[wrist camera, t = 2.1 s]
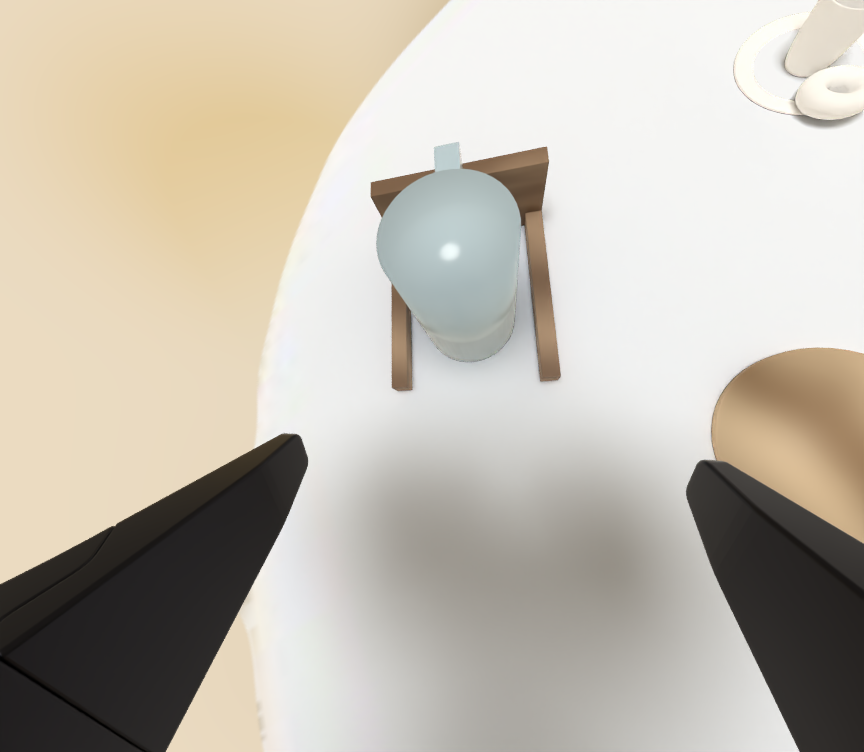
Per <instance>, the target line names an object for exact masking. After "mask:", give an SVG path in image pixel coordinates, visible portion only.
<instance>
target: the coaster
mask: <svg viewBox="0 0 864 752" xmlns="http://www.w3.org/2000/svg"><path fill="white" fill-rule="evenodd" d="M712 443H713V448H714V453H715V456H716V459H717V461H725V462H727V463H729V464H731V465H733V466H734V467H736V468H738V469H739V470H741V471H743V472H744V473H746V474H748V475H749V476H751V477H753V478H754V479H756V480H758V481H759V482H761V483H763V484H765V485H766V486H768V487H770V488H771V489H773V490H775V491H776V492H778V493H780V494H781V495H783V496H785V497H786V498H788V499H790V500H791V501H793V502H795V503H797V504H798V505H800V506H802V507H803V508H805V509H807V510H808V511H810V512H812V513H813V514H815V515H817V516H818V517H820V518H822V519H823V520H825V521H827V522H828V523H830V524H832V525H834V526H835V527H837V528H839V529H840V530H842V531H844V532H845V533H847V534H849V535H850V536H852V537H854V538H855V539H857V540H859V541H860V542H862V543H864V354H862V353H858V352H854V351H849V350H842V349H835V348H805V349H797V350H792V351H787V352H783V353H780V354H777V355H774V356H771V357H768V358H765V359H763V360H761V361H758V362H756V363H754V364H752V365H751V366H749V367H748V368H746V369H744V370H743V371H742V372H741V373H739V374H738V375H737V376H736V377H735V378H734V379H733V380H732V381H731V382H730V383H729V384H728V385H727V387H726V388H725V390H724V391H723V393H722V394H721V396H720V398H719V400H718V402H717V405H716V407H715V411H714V415H713V420H712Z"/></svg>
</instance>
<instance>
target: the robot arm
mask: <svg viewBox="0 0 864 752" xmlns="http://www.w3.org/2000/svg"><path fill="white" fill-rule="evenodd" d="M307 466H308V457H307V454H306V451H305V448H304V445H303V442H302V439H301V437H300V436H299V435H297V434H287V433H285V434H281V435H279V436H277V437H275V438H273V439H272V440H270V441H268V442H266V443H264V444H262V445H260V446H259V447H257V448H255V449H253V450H251V451H249V452H248V453H246V454H244V455H242V456H240V457H238V458H237V459H235V460H233V461H231V462H229V463H228V464H226V465H224V466H222V467H220V468H218V469H216V470H215V471H213V472H211V473H209V474H207V475H205V476H204V477H202V478H200V479H198V480H196V481H194V482H193V483H191V484H189V485H187V486H185V487H183V488H181V489H180V490H178V491H176V492H174V493H172V494H170V495H169V496H167V497H165V498H163V499H161V500H159V501H158V502H156V503H154V504H152V505H150V506H148V507H147V508H145V509H143V510H141V511H139V512H137V513H135V514H134V515H132V516H130V517H128V518H126V519H124V520H123V521H121V522H119V523H117V524H116V526H112V527H110V528H108V529H106V530H104V531H102V532H100V533H99V534H97V535H95V536H93V537H92V538H89V539H88V540H86V541H84V542H82V543H80V544H78V545H76V546H74V547H72V548H71V549H69V550H67V551H65V552H63V553H61V554H59V555H58V556H56V557H54V558H52V559H50V560H48V561H46V562H44V563H42V564H40V565H38V566H36V567H34V568H32V569H30V570H28V571H26V572H24V573H22V574H20V575H18V576H16V577H14V578H12V579H10V580H8V581H6V582H4V583H2V584H0V752H166V750H167V748H168V746H169V744H170V742H171V740H172V739H173V737H174V735H175V733H176V731H177V729H178V727H179V725H180V723H181V721H182V719H183V717H184V716H185V714H186V712H187V710H188V707H189V706H190V704H191V702H192V700H193V698H194V696H195V694H196V692H197V691H198V688H199V687H200V685H201V683H202V681H203V679H204V677H205V675H206V673H207V671H208V669H209V667H210V665H211V664H212V662H213V660H214V658H215V656H216V654H217V652H218V650H219V648H220V646H221V645H222V643H223V641H224V639H225V637H226V635H227V633H228V631H229V629H230V627H231V625H232V624H233V621H234V620H235V618H236V616H237V614H238V612H239V610H240V608H241V606H242V604H243V602H244V600H245V599H246V597H247V595H248V593H249V591H250V589H251V587H252V585H253V583H254V581H255V579H256V577H257V576H258V574H259V572H260V570H261V568H262V566H263V564H264V562H265V560H266V558H267V556H268V554H269V553H270V551H271V549H272V547H273V545H274V543H275V541H276V539H277V537H278V535H279V533H280V531H281V529H282V527H283V525H284V523H285V521H286V519H287V516H288V514H289V512H290V509H291V507H292V504H293V502H294V499H295V497H296V494H297V492H298V489H299V487H300V484H301V482H302V479H303V477H304V474H305V472H306V470H307ZM686 496H687V500H688V503H689V506H690V509H691V511H692V514H693V517H694V520H695V522H696V525H697V528H698V531H699V534H700V536H701V539H702V542H703V545H704V548H705V550H706V553H707V556H708V559H709V561H710V564H711V566H712V569H713V571H714V574H715V576H716V578H717V581H718V583H719V585H720V587H721V589H722V591H723V593H724V595H725V598H726V600H727V602H728V604H729V606H730V608H731V610H732V612H733V614H734V616H735V618H736V620H737V622H738V625H739V627H740V629H741V631H742V633H743V635H744V637H745V639H746V641H747V643H748V645H749V647H750V650H751V652H752V654H753V656H754V658H755V660H756V662H757V664H758V666H759V668H760V670H761V672H762V674H763V677H764V679H765V681H766V683H767V685H768V687H769V689H770V691H771V693H772V695H773V697H774V699H775V702H776V704H777V706H778V708H779V710H780V712H781V714H782V716H783V718H784V720H785V722H786V724H787V727H788V729H789V731H790V733H791V735H792V737H793V739H794V741H795V743H796V745H797V747H798V749H799V751H800V752H864V543H862V542H860V541H859V540H857V539H855V538H854V537H852V536H850V535H849V534H847V533H845V532H844V531H842V530H840V529H839V528H837V527H835V526H834V525H832V524H830V523H828V522H827V521H825V520H823V519H822V518H820V517H818V516H817V515H815V514H813V513H812V512H810V511H808V510H807V509H805V508H803V507H802V506H800V505H798V504H797V503H795V502H793V501H791V500H790V499H788V498H786V497H785V496H783V495H781V494H780V493H778V492H776V491H775V490H773V489H771V488H770V487H768V486H766V485H765V484H763V483H761V482H759V481H758V480H756V479H754V478H753V477H751V476H749V475H748V474H746V473H744V472H743V471H741V470H739V469H738V468H736V467H734V466H733V465H731V464H729V463H727V462H725V461H717V460H701V461H699V462H698V463H697V465H696V467H695V469H694V472H693V474H692V476H691V479H690V481H689V483H688V485H687V489H686Z"/></svg>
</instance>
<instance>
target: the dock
mask: <svg viewBox="0 0 864 752" xmlns="http://www.w3.org/2000/svg"><path fill="white" fill-rule="evenodd" d="M548 164H549V159H548V151H547V147H542V148H537V149H532V150H527V151H523V152H518V153H513V154H508V155H503V156H498V157H493V158H488V159H483V160H479V161H474V162H469V163H464V164H462V166H463V169H470V170H475V171H479V172H482V173H485V174H487V175H489V176H491V177H493V178H495V179H496V180H498V181H499V182H501V183H502V184H503V185H504V186H505V187H506V188H507V189H508V190H509V191H510V193H511V194H512V195H513V197H514V199H515V201H516V203H517V206H518V208H519V212H520V217H521V225H525V235H526V245H527V254H528V264H529V274H530V284H531V294H532V304H533V313H534V323H535V333H536V343H537V353H538V362H539V372H540V381H552V380H558V379H559V378H560V376H561V375H560V366H559V357H558V349H557V340H556V331H555V323H554V314H553V306H552V297H551V288H550V280H549V271H548V262H547V254H546V245H545V237H544V228H543V219H542V211H541V210H542V204H543V197H544V190H545V184H546V177H547V171H548ZM434 172H435V169H434V170H430V171H425V172H420V173H415V174H410V175H405V176H400V177H395V178H390V179H386V180H381V181H376V182H371V198H372V200H373V202H374V204H375V206H376V207H377V209H378V211H379V213H380V215H381V217H383V215H384V213H385V211H386V210H387V208H388V206H389V205H390V203H391V202H392V201H393V200H394V199H395V197H396V196H397V195H398V194H399V193H400V192H401V191H402V190H404V189H405V188H406V187H407V186H409V185H410V184H412V183H413V182H415V181H416V180H418V179H420V178H422V177H424V176H426V175H429V174H432V173H434ZM392 388H393V389H395V390H397V391H403V390H412V352H411V310H410V309H409V307H408V306H407V304H406V303H405V301H404V300H403V299H402V297H401V296H400V294H399V293H398V291H397V290H396V288H395V287H394V286H393V284H392Z"/></svg>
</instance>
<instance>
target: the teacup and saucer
mask: <svg viewBox="0 0 864 752" xmlns="http://www.w3.org/2000/svg"><path fill="white" fill-rule="evenodd" d="M796 29H800V31H799V32H798V34H797V36H796V37H795V39H794V41H793V43H792V45H791V47H790V49H789V51H788V54H787V57H786V60H785V68H786V70H787V71H788V72H789V73H790V74H792V75H794V76H798V77H808V78H807V79H806V80H805V81H804V82H803V83H802V84H801V86H800V87H799V89H798V91H797V95H796V101H794V100H787V99H783V98H780V97H777V96H775V95H772V94H771V93H769V92H767V91H766V90H764V89H763V88H762V87H761V86H760V85H759V84H758V82H757V81H756V79H755V76H754V73H753V64H754V60H755V57H756V55H757V54H758V52H759V51H760V49H761V48H762V47H763V46H764V45H765V44H766V43H768V42H769V41H770V40H772V39H773V38H775V37H777V36H779V35H781V34H783V33H786V32H789V31H792V30H796ZM855 42H857V43H858V44H859V45H860V46H861V48H862V50H863V52H864V0H818V2H817V4H816V5H815V7H814V8H813V10H812V11H811V12H804V13H798V14H794V15H790V16H786V17H783V18H780V19H778V20H775V21H773V22H771V23H769V24H767V25H765V26H763V27H762V28H760V29H759V30H757V31H756V32H755V33H754V34H752V35H751V36H750V37H749V38H748V39H747V40H746V41H745V42H744V44H743V45H742V46H741V48H740V49H739V51H738V53H737V55H736V58H735V62H734V77H735V80H736V83H737V85H738V87H739V88H740V90H741V91H742V92H743V93H744V95H745V96H746V97H748V98H749V99H750V100H751V101H753V102H754V103H756V104H758V105H760V106H762V107H764V108H766V109H769V110H772V111H775V112H779V113H784V114H791V115H807V116H810V117H813V118H817V119H823V120H835V119H842V118H846V117H850V116H853V115H855V114H857V113H859V112H861V111H863V110H864V67H861V66H854V65H843V66H834V67H830V68H827V67H828V66H830V65H831V64H832V63H833V62H835V61H836V60H837V59H838V58H839V57H840V56H841V55H842V54H843V53H845V52H846V51H847V50H848V49H849V48H850V47H851V46H852V45H853V44H854V43H855ZM809 76H810V77H809ZM836 92H837V93H836Z"/></svg>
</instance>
